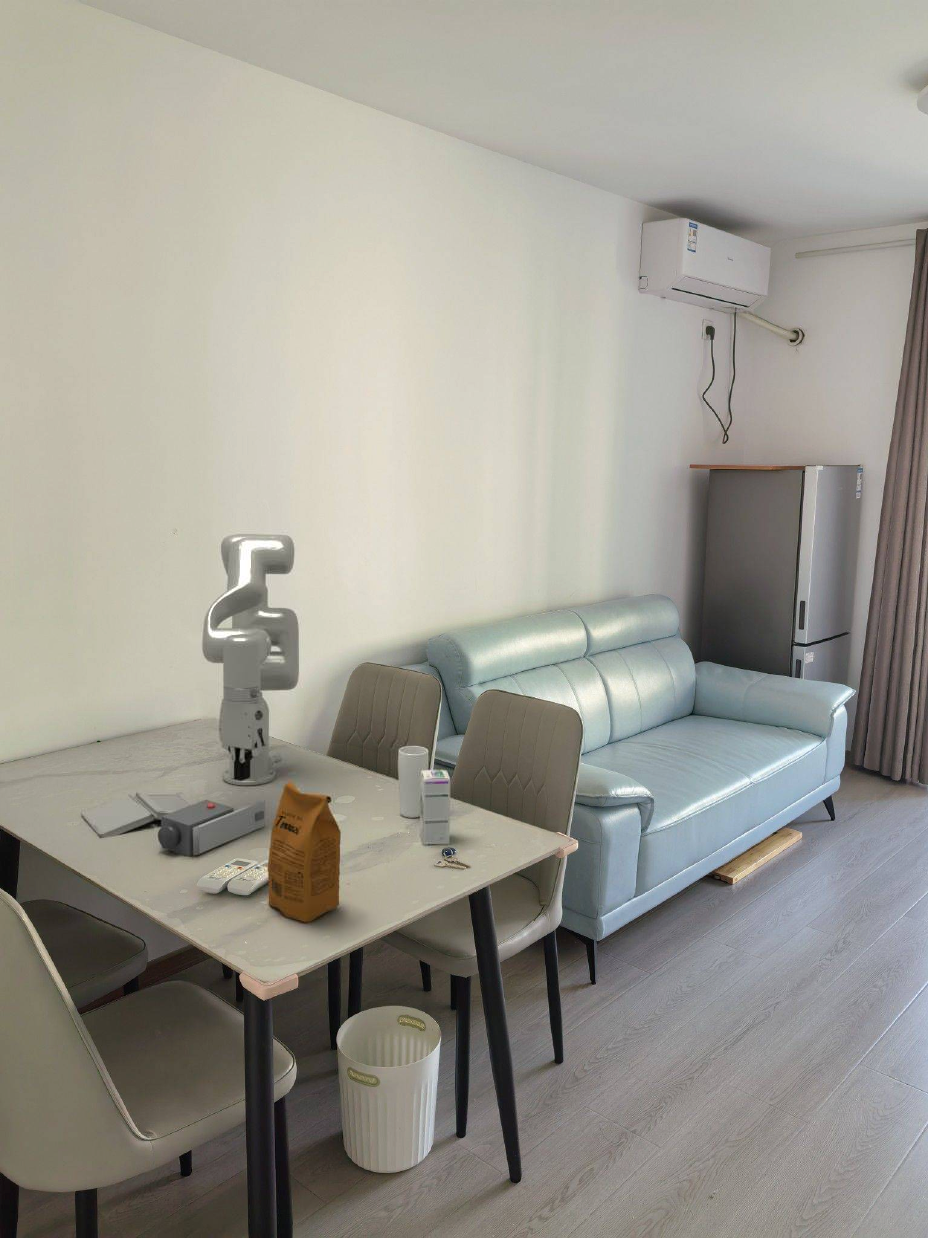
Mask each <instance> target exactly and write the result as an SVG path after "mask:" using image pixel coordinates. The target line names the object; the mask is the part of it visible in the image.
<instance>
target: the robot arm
mask: <svg viewBox="0 0 928 1238" xmlns="http://www.w3.org/2000/svg"><path fill="white" fill-rule="evenodd" d="M220 544H221V545H220V554H221V559H222V564H223V566H224V567H223V568H224V570H225V574H226V575H227V582H226V585H227V586H226V591H224V592H223V593H222V594H221V595H219V597H217V598H216V599H215V601H214V602H213V603H212V604H211V605H210V607H209V608H208V609H207V611H206V614H205V616H204V622H203V628H202V629H203V631H202V643H201V645H202V646H201V647H202V648H201V649H202V654H203V656H204V659H205V660H206V661H208V662H209V663H212V664H223V665H222V666H223V672H222V673H223V674H222V675H223V676H222V677H223V678H222V681H223V683H222V685H223V686H222V687H223V690H222V691H223V692H222V693H223V694H222V695H223V696H222V697H223V698H222V700H221V702H220V703H221V704H220V711H219V717H218V718H219V719H218V738H219V741H220V743H221V747H222V748H223V749H225V750H226V751H228V752H229V753H228V754H229V768H228V769H226V770H224V772H223V773H222V780H223V781H225V782H226V783H229V784H231V785H234V786H235V785H236V786H256V785H262V784H266V783H269V782H271V781H272V780H274V779H275V777H276V771H275V769H274V768H273V765H274V764H277V763H280V762H282V761H283V758H282V757H283V756H282V755H280V754H275V755H273V756H271V755H270V709H269V705H268V703H267V701H266V699H265V698H264V697H263V692H264V691H265V692H266V691H268V692H269V691H274V692H275V691H291V690H293V689H295V688H296V687H297V685H298V683H299V679H300V676H299V675H300V649H299V648H300V645H299V644H300V643H299V642H300V637H299V635H300V633H299V621H298V617H297V614H296V612H295V611H294V610H293V609H290V608H288V607H269V605H268V601H269V599H268V597H269V590H268V586H267V585H266V583H267V582H266V580H267V579H266V576H267V575H288V574H290V573H291V572H292V569H293V567H294V563H295V546H294V544H295V543H294V541H293V538H291V537H290V536H289V535H286V534H259V533H240V534H239V533H238V534H232V535H228V536H226V537H224V538H223V539H222V542H221V543H220ZM229 618H231V627H226V628H225V627H223V628H222V627H220V628H219V625H220V624H221V623H222V622H224V621H225V620H227V619H229ZM272 647H275V648H278V649H279V650H280V651H272Z"/></svg>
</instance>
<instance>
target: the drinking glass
mask: <svg viewBox="0 0 928 1238" xmlns="http://www.w3.org/2000/svg"><path fill="white" fill-rule="evenodd" d="M424 770H429V749H428V748H426V747H423V746H418V745H406V746H402V747H401V748H398V757H397V773H398V775H397V776H398V787H399V789H398V790H399V791H398V792H399V793H398V794H399V814H400V815H401V816H402V817H404V818H409V819H413V818H415V819H416V818H420V803H421V771H424Z"/></svg>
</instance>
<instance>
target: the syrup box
mask: <svg viewBox="0 0 928 1238" xmlns="http://www.w3.org/2000/svg"><path fill="white" fill-rule="evenodd" d="M450 823H451V778H450V776H449V773H448V770H446V769H428V770H424V771H421V803H420V817H419V836H420V839H421V843H422V845H424V846H425V845H426V846H432V845H431V844H441V845H449V844H450V830H451V829H450ZM448 843H449V844H448ZM428 844H430V845H428Z"/></svg>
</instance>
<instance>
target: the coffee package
mask: <svg viewBox="0 0 928 1238" xmlns="http://www.w3.org/2000/svg"><path fill="white" fill-rule="evenodd" d="M280 796H281V797H280V800H279V803H278V808H277V811H276V812H275V813H276V814H275V816H274V821H273V825H272V828H271V834H270V845H269V852H268V862H267V876H268V906H269V907H273V908H276V909H278V910H280V912H281V913H282V914H283V915H284V916H285V917H287V918H289V919H293V920H298V921H301V922H303V923H309V922H312V921H314V920H315V919H317V918H319V917H320V916H322V915H323V914H325V913H326V912H330V911H332V910H335V908H336V907H338V906H339V905H340V873H341V871H340V862H341V839H342V838H341V833H342V832H341V830H340V827H339V825H338V822H337V821H336V819H335V817H334V815H333V813H332V811H331V809H330V806H329V804H330V803H331V802H332V797H331V796H329V795H326V794H325V795H324V794H316V793H314V794H313V793H305V792H304V793H303V792H301V791H300V790H299V789H298V788H297V787H296V785H295V784H293V783H292V781H290V780H289V781H287V782H285V784H284V788H283V792H282V794H281V795H280Z"/></svg>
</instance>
